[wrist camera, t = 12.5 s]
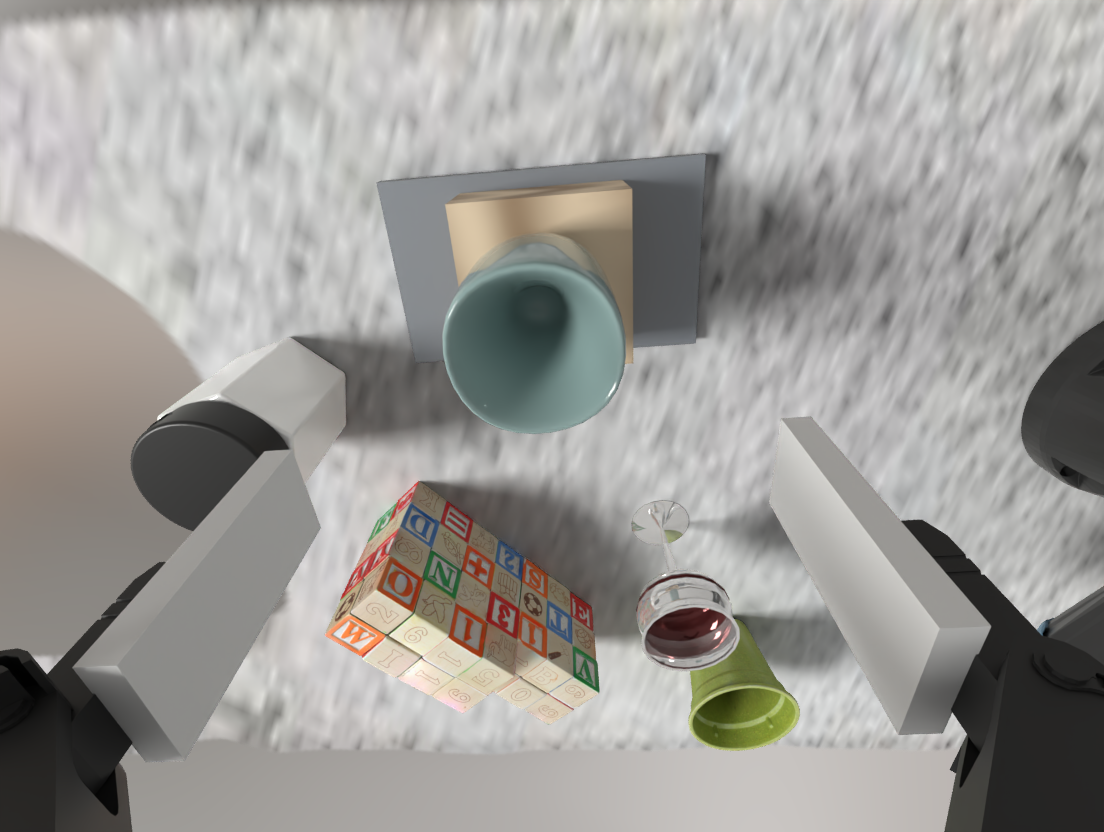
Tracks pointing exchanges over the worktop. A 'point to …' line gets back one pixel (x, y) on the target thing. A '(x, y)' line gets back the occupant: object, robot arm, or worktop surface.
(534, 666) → the stack of blocks
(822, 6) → the worktop surface
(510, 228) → the oak riser
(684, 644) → the wineglass
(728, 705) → the plant pot
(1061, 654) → the robot arm
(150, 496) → the jar
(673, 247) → the base board
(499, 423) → the cup
